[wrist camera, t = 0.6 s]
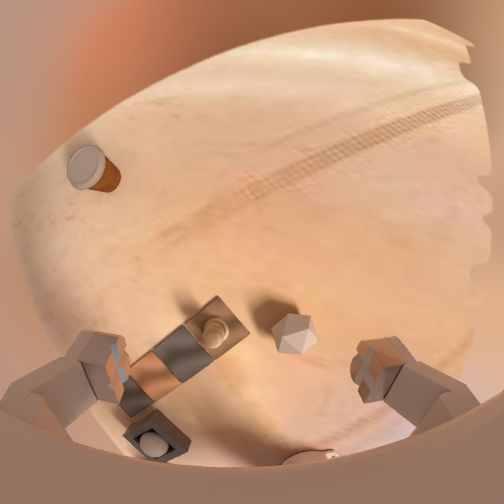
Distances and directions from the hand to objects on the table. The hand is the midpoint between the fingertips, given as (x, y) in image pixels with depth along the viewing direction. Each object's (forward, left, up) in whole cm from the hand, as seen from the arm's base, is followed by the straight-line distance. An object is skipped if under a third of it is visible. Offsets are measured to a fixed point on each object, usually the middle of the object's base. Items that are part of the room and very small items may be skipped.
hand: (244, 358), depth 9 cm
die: (-14, +1, -47) cm, 49 cm away
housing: (-17, +45, -47) cm, 68 cm away
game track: (-4, +28, -47) cm, 55 cm away
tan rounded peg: (-4, +13, -46) cm, 49 cm away
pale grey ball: (-17, +45, -45) cm, 66 cm away
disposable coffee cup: (+38, +12, -47) cm, 62 cm away
